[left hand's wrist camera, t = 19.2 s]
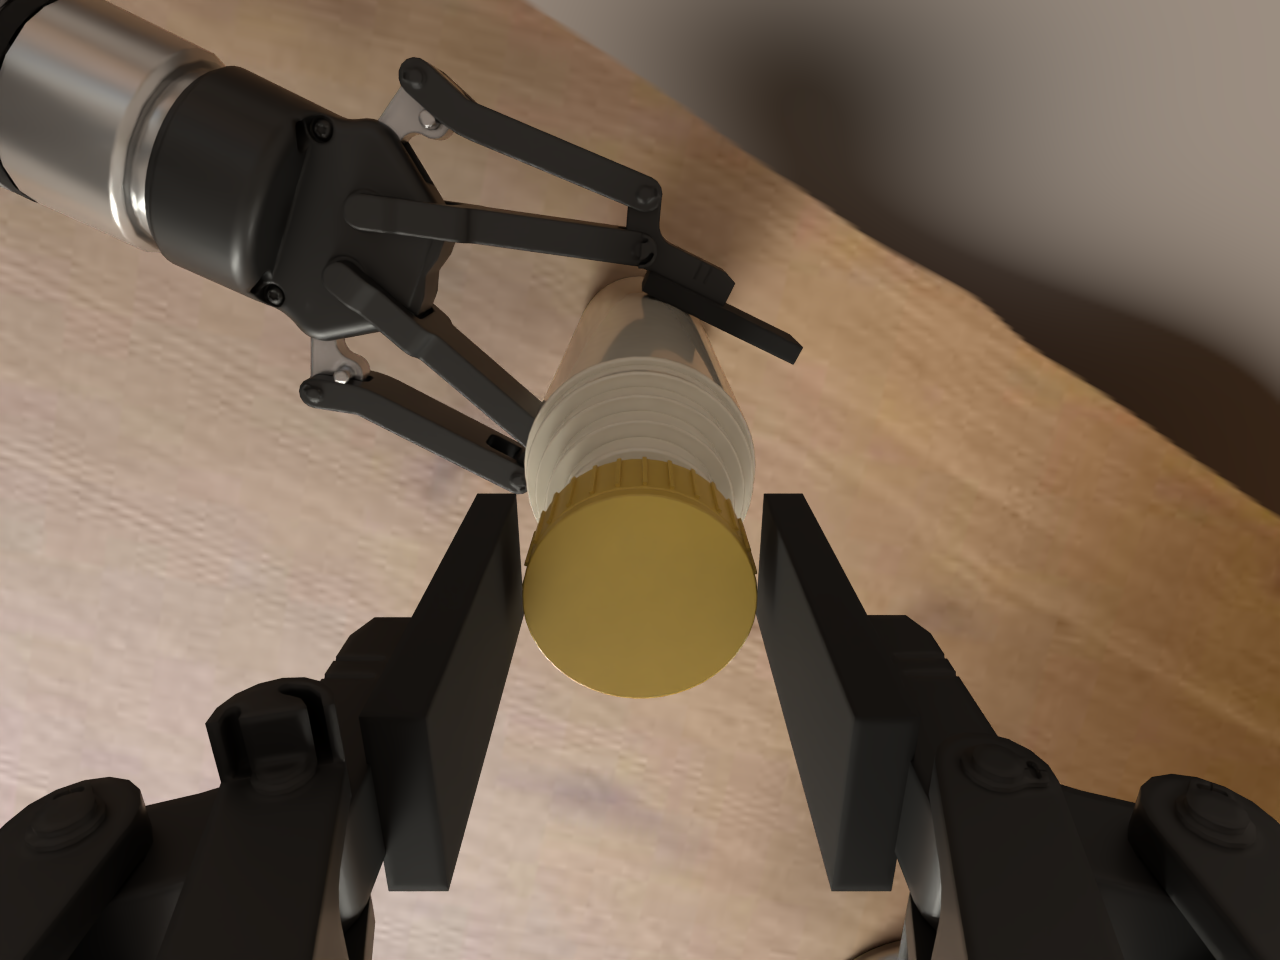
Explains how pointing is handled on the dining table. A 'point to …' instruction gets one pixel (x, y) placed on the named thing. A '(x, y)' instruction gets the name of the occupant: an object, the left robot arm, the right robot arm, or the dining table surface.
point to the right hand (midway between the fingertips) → (750, 421)
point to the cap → (639, 580)
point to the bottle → (639, 400)
